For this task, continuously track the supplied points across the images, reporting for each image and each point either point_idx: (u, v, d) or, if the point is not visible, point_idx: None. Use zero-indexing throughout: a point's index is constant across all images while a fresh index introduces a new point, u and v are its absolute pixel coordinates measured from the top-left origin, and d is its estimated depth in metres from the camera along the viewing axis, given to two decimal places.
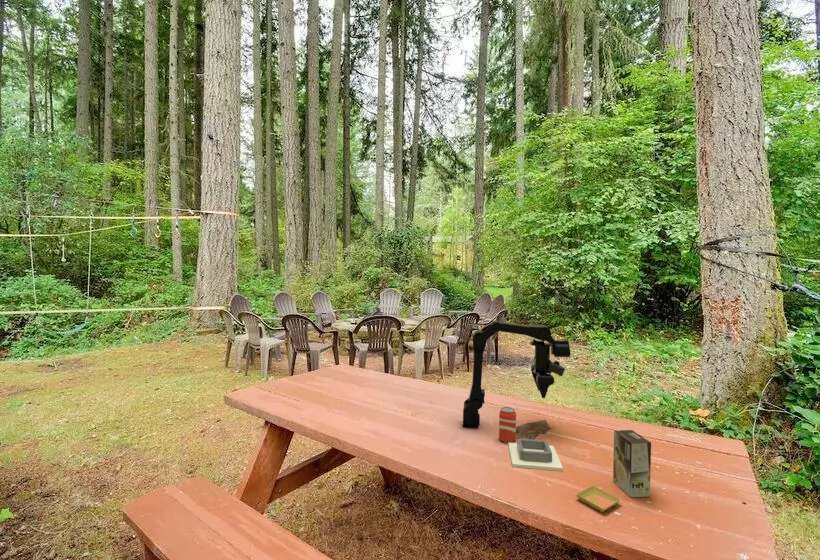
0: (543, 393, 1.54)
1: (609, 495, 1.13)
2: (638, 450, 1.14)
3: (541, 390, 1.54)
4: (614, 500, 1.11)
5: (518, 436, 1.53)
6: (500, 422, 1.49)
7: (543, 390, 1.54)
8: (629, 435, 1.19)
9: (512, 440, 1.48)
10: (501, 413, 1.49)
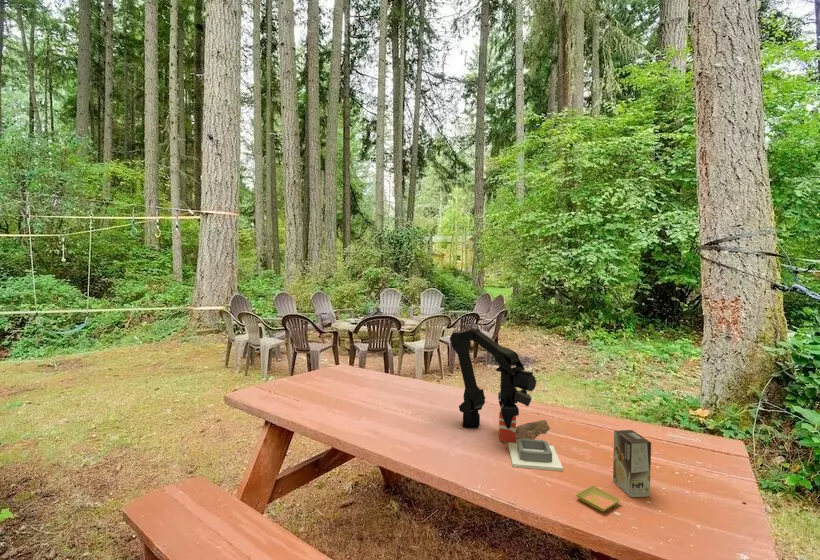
0: (508, 424, 1.46)
1: (609, 495, 1.13)
2: (638, 450, 1.14)
3: (505, 420, 1.46)
4: (614, 500, 1.11)
5: (518, 436, 1.53)
6: (500, 422, 1.50)
7: (507, 420, 1.46)
8: (629, 435, 1.19)
9: (512, 440, 1.48)
10: None
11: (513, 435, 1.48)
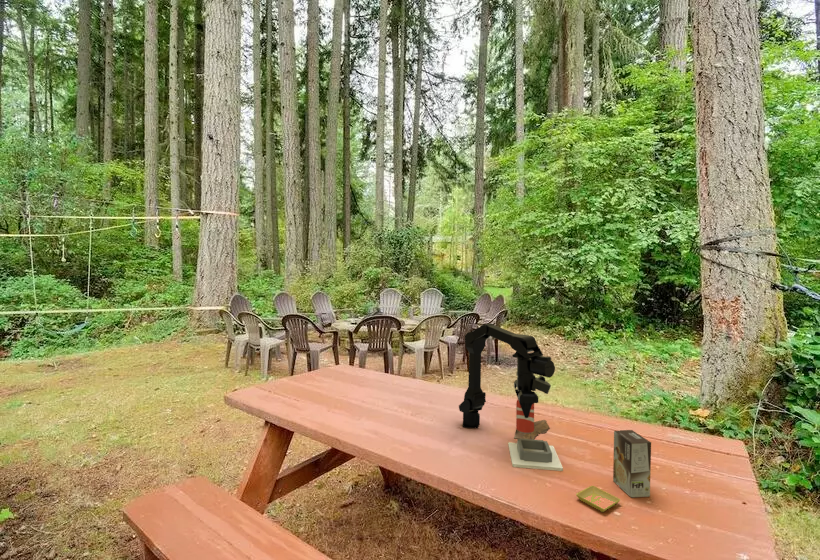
0: (526, 413, 1.37)
1: (609, 495, 1.13)
2: (638, 450, 1.14)
3: (524, 409, 1.37)
4: (614, 500, 1.11)
5: (518, 436, 1.53)
6: (517, 411, 1.41)
7: (526, 409, 1.37)
8: (629, 435, 1.19)
9: (530, 430, 1.39)
10: (518, 402, 1.40)
11: (531, 425, 1.39)
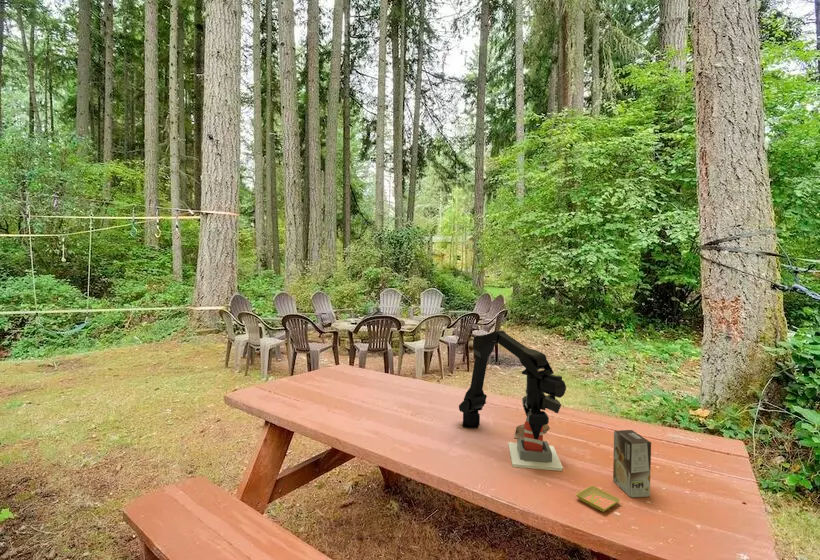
0: (536, 434, 1.32)
1: (609, 495, 1.13)
2: (638, 450, 1.14)
3: (533, 430, 1.31)
4: (614, 500, 1.11)
5: (518, 436, 1.53)
6: (525, 434, 1.37)
7: (536, 430, 1.31)
8: (629, 435, 1.19)
9: None
10: (526, 424, 1.36)
11: (540, 448, 1.35)
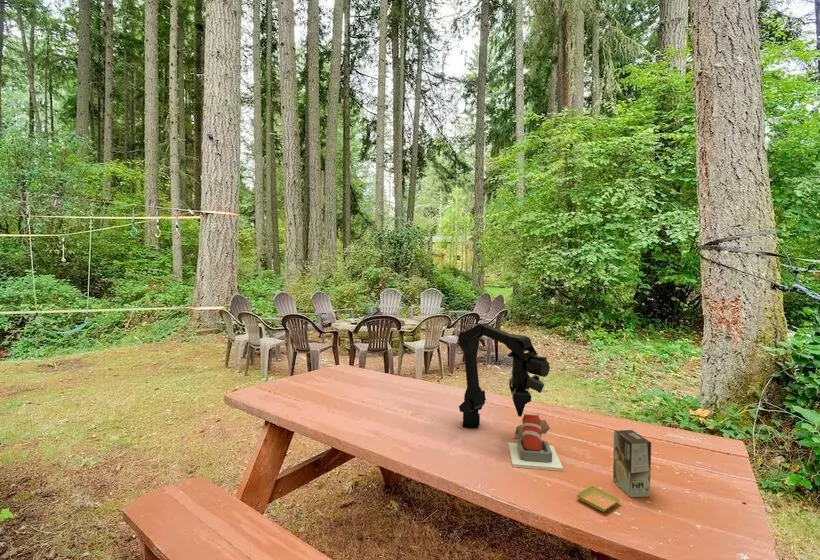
0: (519, 411, 1.42)
1: (608, 495, 1.13)
2: (638, 450, 1.14)
3: (517, 408, 1.41)
4: (614, 500, 1.11)
5: (518, 436, 1.53)
6: (523, 428, 1.40)
7: (519, 408, 1.41)
8: (629, 435, 1.19)
9: (537, 448, 1.35)
10: (524, 417, 1.40)
11: (538, 442, 1.36)
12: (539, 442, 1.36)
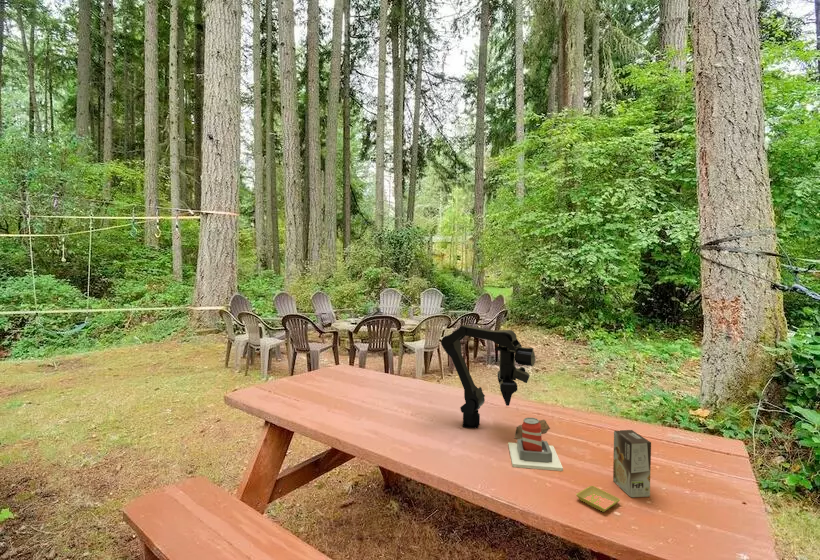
0: (507, 401, 1.51)
1: (608, 495, 1.13)
2: (638, 450, 1.14)
3: (505, 397, 1.50)
4: (614, 500, 1.11)
5: (519, 436, 1.53)
6: (523, 434, 1.37)
7: (507, 397, 1.50)
8: (629, 435, 1.19)
9: None
10: (523, 424, 1.36)
11: (538, 449, 1.34)
12: (539, 448, 1.34)
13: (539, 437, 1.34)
